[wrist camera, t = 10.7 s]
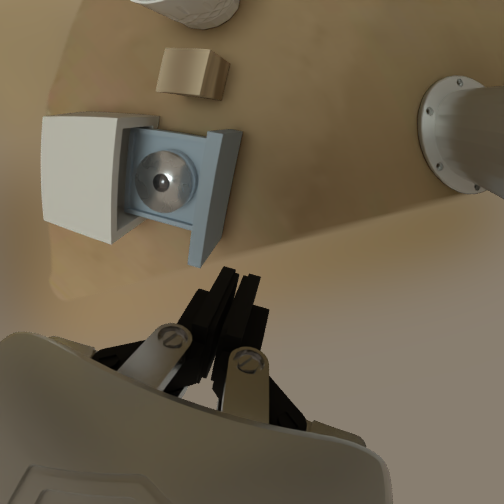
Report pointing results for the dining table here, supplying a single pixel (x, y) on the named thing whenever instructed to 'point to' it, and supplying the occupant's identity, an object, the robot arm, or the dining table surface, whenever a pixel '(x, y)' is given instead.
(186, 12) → the white cup
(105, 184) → the housing
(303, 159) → the dining table surface
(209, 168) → the blue-grey open box
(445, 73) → the dining table surface
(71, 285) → the dining table surface
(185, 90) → the beige block
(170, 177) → the disc
